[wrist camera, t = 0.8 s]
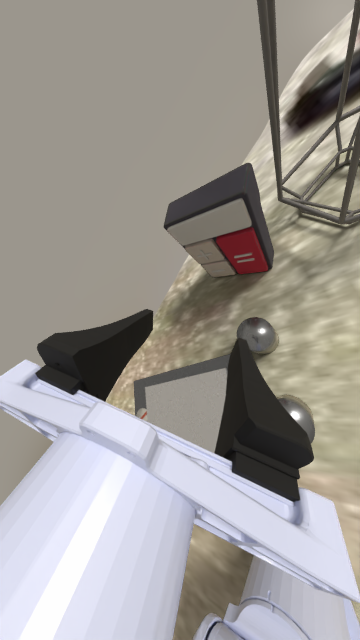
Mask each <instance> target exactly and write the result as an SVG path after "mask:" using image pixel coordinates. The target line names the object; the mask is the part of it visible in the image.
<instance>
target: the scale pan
mask: <svg viewBox="0 0 360 640" xmlns="http://www.w3.org/2000/svg"><path fill="white" fill-rule="evenodd" d="M226 384H227V368H223V369H219V370H215V371H211V372H207V373H202V374H198V375H194V376H190V377H186V378H182V379H177V380H173V381H169V382H165V383H161V384H157V385H153V386H148V387H145V393H146V408H147V422H149V423H151V424H153V425H155V426H157V427H159V428H161V429H164V430H166V431H168V432H170V433H172V434H174V435H176V436H178V437H181V438H183V439H185V440H187V441H189V442H191V443H193V444H195V445H198V446H200V447H202V448H204V449H206V450H208V451H210V452H212V453H214V452H215V448H216V443H217V438H218V434H219V429H220V424H221V419H222V413H223V408H224V402H225V396H226Z"/></svg>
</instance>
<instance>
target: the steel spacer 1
mask: <svg viewBox="0 0 360 640" xmlns="http://www.w3.org/2000/svg"><path fill="white" fill-rule="evenodd" d="M237 338H241V339H245V340H247V342H248V345H249V348H250V351H253V352H256V353H259V354H268V353H271V352H273V351H274V350H275V349H276V348H277V346H278V343H279V337H278V334H277V333H276V331H275V330H274V329H273V327H272V326H271V325H270V324H269V323H268V322H267V321H266V320H264V319H262V318H258V317H253V318H249V319H246V320H245V321H243V322H242V323H241V324H240V326H239V327H238V330H237Z"/></svg>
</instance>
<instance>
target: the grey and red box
mask: <svg viewBox="0 0 360 640" xmlns="http://www.w3.org/2000/svg"><path fill="white" fill-rule="evenodd" d="M164 228H165V229H166V230H167V231H168V232H169V233H170V234H171V235H172V236H173V237H174V238H175V239H176V240H177V241H178V242H179V243H180V244H181V245H182V246H183V247H184V248H185V250H186V251H187V252H188V253H189V254H190V255H191V256H192V257H193V258H194V259H195V260H196V261H197V262H198V263H199V264H201V265H202V267H203V268H204V269H205V270H206V271H207V272H208V273H209V274H210V275H211V276H212V277H220V276H228V275H235V274H236V273H239V274H246V273H255V272H263V271H268V269H271V268H272V265H273V257H274V250H273V246H272V243H271V239H270V236H269V232H268V228H267V225H266V221H265V218H264V214H263V211H262V207H261V202H260V193H259V189H258V186H257V182H256V178H255V175H254V171H253V167H252V165H251V163H246V164H244V165H242V166H240V167H238V168H236V169H234V170H232V171H230V172H228V173H227V174H225V175H223V176H221V177H219V178H217V179H215V180H213V181H211V182H209V183H208V184H206V185H204V186H202V187H200V188H198V189H196V190H194V191H192V192H190V193H189V194H187V195H185V196H183V197H181V198H179V199H177V200H175V201H174V202H171V203H170V204H169V206H168V210H167V214H166V218H165V223H164Z"/></svg>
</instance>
